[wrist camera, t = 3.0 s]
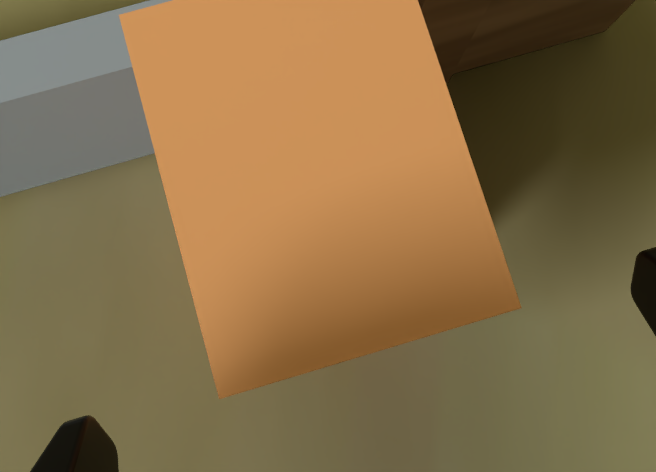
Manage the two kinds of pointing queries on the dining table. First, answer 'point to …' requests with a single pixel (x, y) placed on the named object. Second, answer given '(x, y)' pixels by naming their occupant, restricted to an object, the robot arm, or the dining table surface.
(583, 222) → the dining table surface
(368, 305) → the tan rectangular slab
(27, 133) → the door
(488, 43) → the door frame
